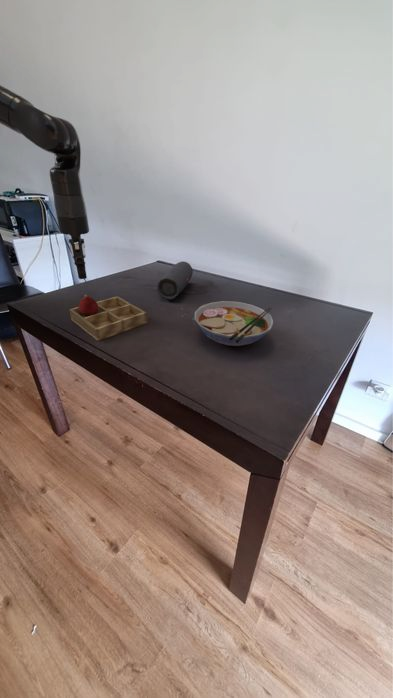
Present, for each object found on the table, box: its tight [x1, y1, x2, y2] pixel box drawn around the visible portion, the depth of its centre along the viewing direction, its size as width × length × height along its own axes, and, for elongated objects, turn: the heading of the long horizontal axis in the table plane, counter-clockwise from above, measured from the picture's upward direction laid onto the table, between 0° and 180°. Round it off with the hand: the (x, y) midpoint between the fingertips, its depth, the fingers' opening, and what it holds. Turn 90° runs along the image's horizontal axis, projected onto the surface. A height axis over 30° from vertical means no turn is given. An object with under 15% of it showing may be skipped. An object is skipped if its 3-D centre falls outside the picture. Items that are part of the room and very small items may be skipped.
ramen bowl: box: [194, 300, 274, 347], centre depth 84 cm, size 25×23×8 cm
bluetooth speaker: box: [156, 261, 194, 300], centre depth 113 cm, size 23×9×10 cm, turn 167°
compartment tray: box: [68, 296, 148, 342], centre depth 91 cm, size 17×17×4 cm
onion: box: [78, 294, 99, 317], centre depth 89 cm, size 6×6×8 cm
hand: (82, 273), depth 84 cm, fingers open, 8 cm apart
